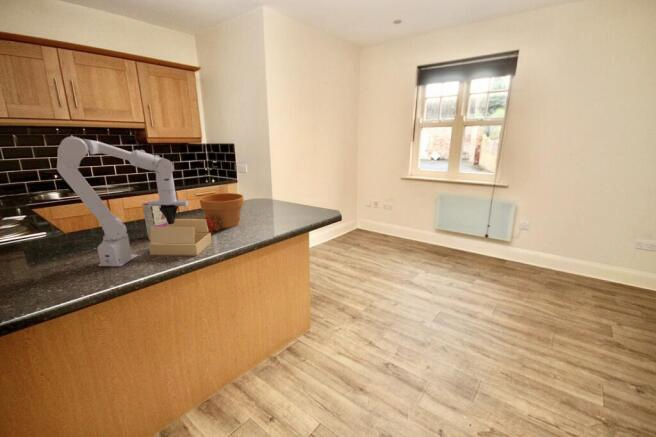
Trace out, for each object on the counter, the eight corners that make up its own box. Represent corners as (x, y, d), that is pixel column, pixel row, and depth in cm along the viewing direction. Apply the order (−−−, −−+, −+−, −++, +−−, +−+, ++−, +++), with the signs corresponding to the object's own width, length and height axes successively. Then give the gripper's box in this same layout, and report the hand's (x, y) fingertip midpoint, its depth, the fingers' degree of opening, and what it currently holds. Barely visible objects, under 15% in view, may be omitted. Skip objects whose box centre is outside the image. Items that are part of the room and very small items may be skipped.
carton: (197, 255, 110) (195, 244, 109) (150, 255, 110) (148, 244, 108) (211, 242, 123) (210, 232, 122) (169, 242, 123) (168, 232, 122)
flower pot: (237, 231, 139) (235, 201, 135) (194, 230, 139) (191, 200, 135) (250, 219, 159) (248, 193, 155) (212, 218, 160) (210, 192, 156)
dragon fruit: (225, 233, 141) (200, 241, 134) (218, 220, 144) (194, 228, 138) (226, 222, 135) (200, 230, 128) (218, 209, 138) (192, 217, 131)
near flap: (194, 243, 109) (193, 243, 108) (151, 242, 109) (150, 242, 108) (194, 227, 109) (193, 227, 108) (151, 226, 109) (150, 226, 108)
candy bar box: (166, 232, 137) (161, 198, 132) (175, 232, 136) (170, 198, 131) (147, 239, 126) (141, 203, 122) (157, 240, 125) (151, 204, 121)
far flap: (169, 231, 122) (170, 231, 122) (208, 232, 122) (208, 231, 122) (165, 219, 118) (166, 218, 119) (205, 219, 118) (205, 219, 119)
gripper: (190, 188, 114) (194, 220, 118) (153, 188, 114) (158, 220, 118) (181, 191, 107) (186, 225, 111) (142, 191, 107) (148, 225, 111)
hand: (171, 223), depth 114 cm, fingers closed
